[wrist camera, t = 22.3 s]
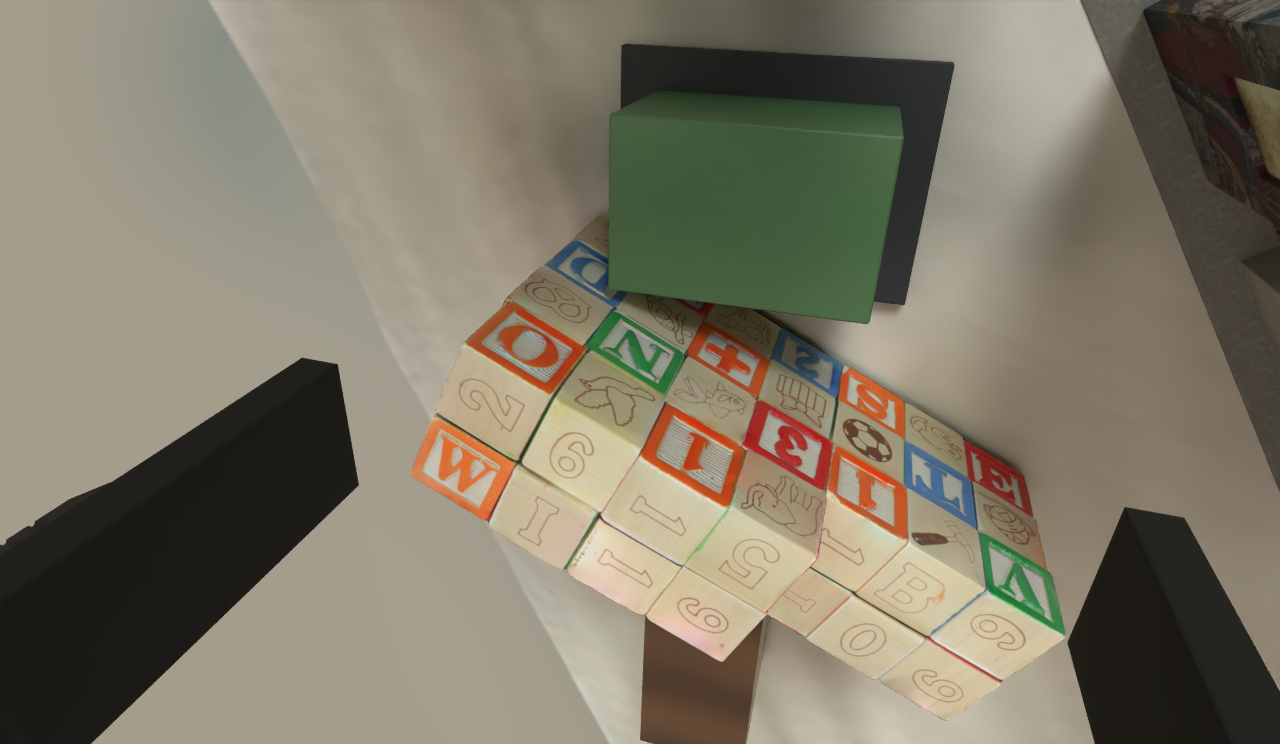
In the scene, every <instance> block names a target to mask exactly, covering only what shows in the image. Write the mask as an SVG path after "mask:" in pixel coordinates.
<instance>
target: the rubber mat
mask: <svg viewBox="0 0 1280 744" xmlns="http://www.w3.org/2000/svg"><path fill="white" fill-rule="evenodd" d="M953 70H954V63H953V62H939V61H921V60H903V59H885V58H867V57H849V56H831V55H813V54H795V53H777V52H759V51H741V50H723V49H705V48H687V47H669V46H651V45H633V44H624V45H622V52H621V109H622V108H624V107H626V106H628V105H630V104H632V103H634V102H636V101H638V100H640V99H642V98H644V97H646V96H648V95H650V94H652V93H654V92H656V91H658V90H668V91H682V92H696V93H711V94H725V95H739V96H753V97H768V98H782V99H796V100H811V101H825V102H839V103H854V104H868V105H882V106H897V107H900V109H901V118H902V128H903V137H904V141H903V146H902V151H901V157H900V162H899V168H898V173H897V178H896V184H895V189H894V194H893V200H892V205H891V210H890V216H889V221H888V226H887V232H886V237H885V242H884V248H883V253H882V258H881V264H880V269H879V274H878V280H877V285H876V290H875V296H874V301H876V302H884V303H891V304H899V305H904V304H905V300H906V295H907V291H908V286H909V281H910V276H911V271H912V267H913V262H914V257H915V252H916V247H917V243H918V238H919V233H920V228H921V223H922V219H923V214H924V209H925V204H926V199H927V195H928V190H929V185H930V180H931V175H932V171H933V166H934V161H935V156H936V151H937V147H938V142H939V137H940V132H941V127H942V123H943V118H944V113H945V108H946V103H947V99H948V94H949V89H950V84H951V79H952V75H953Z"/></svg>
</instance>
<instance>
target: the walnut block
mask: <svg viewBox="0 0 1280 744" xmlns="http://www.w3.org/2000/svg"><path fill="white" fill-rule="evenodd" d="M768 616H769V615H766V616H765V617H764V618H763V619H762V620H761V621H760V622H759V623H758V624H757V625H756V626H755V628H754V629H753V630H752V631H751V632H750V633H749V634H748V635H747V636H746V637H745V638H744V639H743V640H742V641H741V643H740V644H739V645H738V646H737V647H736V648H735V649H734V650H733V651H732V652H731V653H730V654H729V656H728V657H727V658H726V659H725V660H724V661H723V662H721V661H718V660H716V659H715V658H713V657H711V656H710V655H708V654H706V653H705V652H703V651H701V650H700V649H698V648H696V647H694V646H692V645H691V644H689V643H687V642H686V641H684V640H682V639H680V638H679V637H677V636H675V635H674V634H672V633H670V632H668V631H667V630H665V629H663V628H662V627H660V626H658V625H656V624H655V623H653V622H651V621H650V620H649V619H648V618H647V617H646V615H645V638H644V662H643V685H642V709H641V733H640V740H642V741H645V742H649V743H653V744H747V738H748V733H749V727H750V722H751V716H752V711H753V705H754V700H755V694H756V689H757V683H758V678H759V673H760V667H761V662H762V656H763V649H764V643H765V636H766V629H767V622H768Z"/></svg>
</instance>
